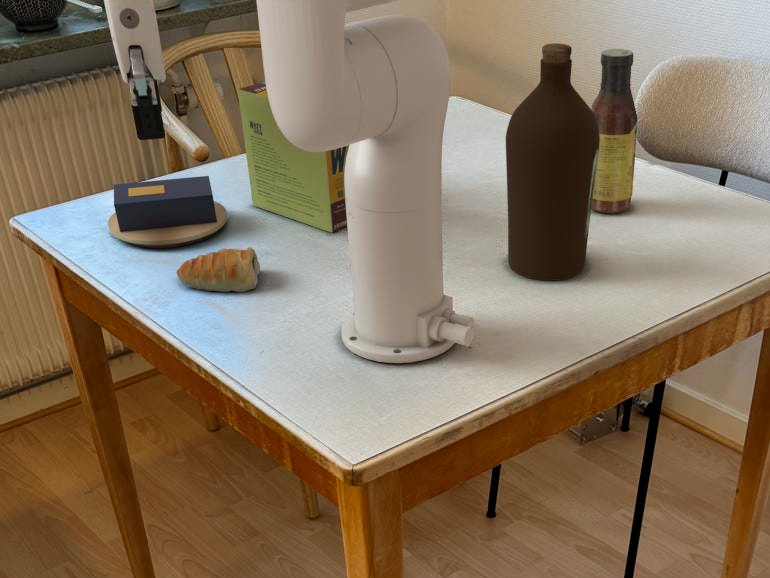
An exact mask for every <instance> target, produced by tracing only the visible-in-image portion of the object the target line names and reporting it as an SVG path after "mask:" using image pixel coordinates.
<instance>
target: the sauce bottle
mask: <svg viewBox="0 0 770 578" xmlns="http://www.w3.org/2000/svg"><path fill="white" fill-rule="evenodd" d="M633 64H634V52H633V51H632V50H631V49H630V50H629V49H624V48H609V49H605V50H603V51H601V56H600V65H601V80H600V81H601V82H600V90H599V92H598V94H597V96H596V97H595V99H594V101H593V102H592V104H591V107H590V109H591V110H592V112H593V113H594V115H595V117H596V120H597V124H598V129H599V135H600V142H599V143H600V145H599V153H598V160H597V168H596V175H595V183H594V191H593V199H592V207H591V211H594V212H598V213H602V214H614V213H616V214H617V213H621V212H625V211H626V210H628V209H629V208H630V207H631V204H632V203H631V202H632V196H633V191H634V189H633V188H634V177H635V161H636V151H637V148H636V147H637V136H638V135H637V133H638V119H639V118H638V114H637V109H636V105H635V101H634V97H633V94H632V93H633V92H632V89H631V86H632V85H631V78H632V66H633Z"/></svg>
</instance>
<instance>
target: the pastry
mask: <svg viewBox="0 0 770 578" xmlns="http://www.w3.org/2000/svg"><path fill="white" fill-rule="evenodd" d="M260 272H261V264H260V262H259V259H258V256H257V253H256V252H255V250H254V249H253V248H252V247H250V246H249V247H247V248H246V249H239V248H237V249H236V248H221V249H219V250H217V251H216V252H215V251H211V252H208V253H206V254H199V255H198V256H197V257H195V258H194V257H193V258H190V259H187V260H186V261H183V263H181V265H180V267H179V268H178V269H176V276H177V277H178V280H179V281H180V282H181V283H182V284H183V285H185V286H187V287H189V288H190V289H196V290H206V291H207V292H209V291H211V292H215V291H216V292H230V291H233V292H234V291H235V292H236V293H237V292H238V293H240V292H242V293H243V292H247V291H250V290H254V289H255V288H256V287H257V284H258V282H259V280H258V279H259V278H258V275H259V273H260Z"/></svg>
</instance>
